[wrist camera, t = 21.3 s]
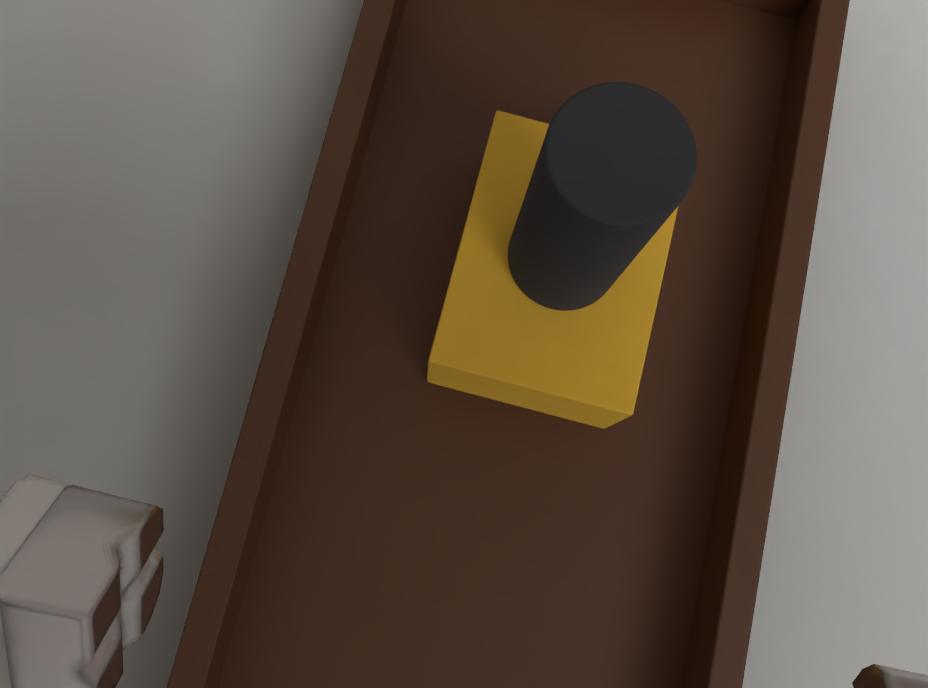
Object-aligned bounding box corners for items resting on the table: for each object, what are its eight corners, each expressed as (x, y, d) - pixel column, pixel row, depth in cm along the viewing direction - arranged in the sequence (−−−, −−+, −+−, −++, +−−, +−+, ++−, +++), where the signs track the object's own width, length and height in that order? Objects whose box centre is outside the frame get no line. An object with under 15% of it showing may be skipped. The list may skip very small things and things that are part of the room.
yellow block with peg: (604, 429, 23) (725, 371, 14) (426, 382, 23) (433, 293, 14) (655, 204, 24) (793, 20, 15) (486, 159, 24) (528, -50, 15)
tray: (662, 950, 21) (693, 1005, 19) (148, 830, 21) (114, 868, 19) (816, 13, 26) (856, -37, 24) (406, -87, 26) (405, -147, 24)
